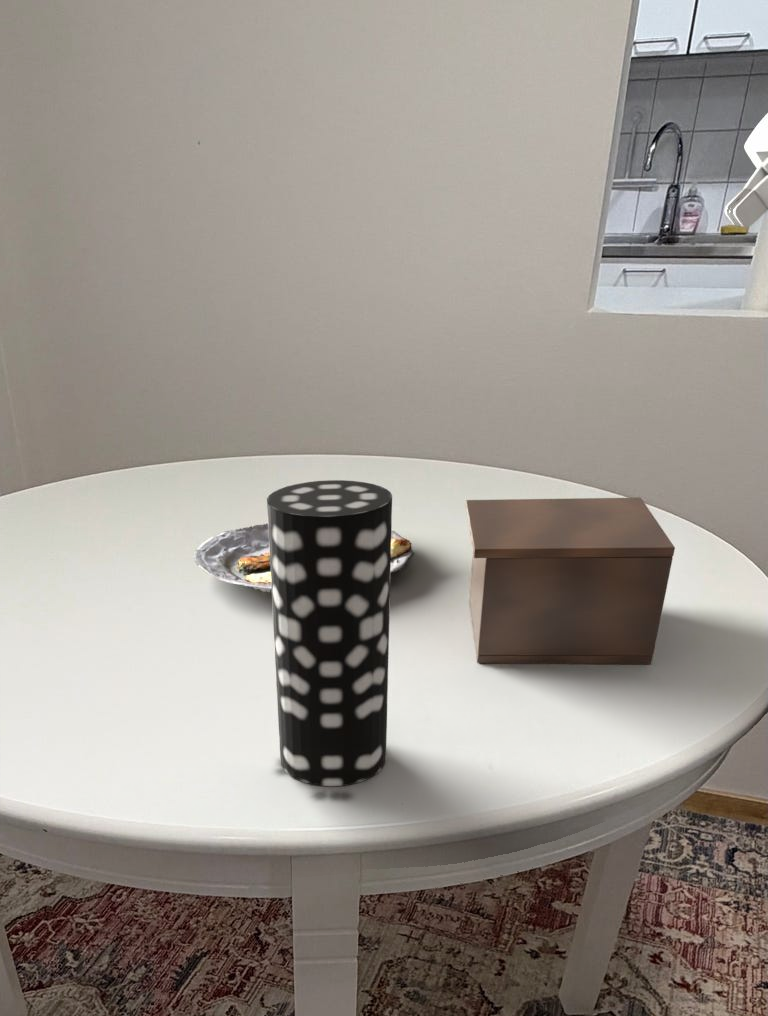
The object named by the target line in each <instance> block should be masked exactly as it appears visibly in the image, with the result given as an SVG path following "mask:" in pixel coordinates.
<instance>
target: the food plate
mask: <svg viewBox="0 0 768 1016" xmlns="http://www.w3.org/2000/svg"><path fill="white" fill-rule="evenodd" d="M412 548H413V547H412V541H411V540H409V539H407V538H404V537H402V536H401V535H400V534H399V533H397V532H396V531H395V530H392V529H391V570H390V574H392V573H396V572H400V571H401V570H403V569H404V568H405V567H407V566H408V564H409V562H410V561H411V559H412V558H413V557H414V556H415V552H414V550H413V549H412ZM193 560H194V562H195V563H196V565H197V566H198V567H199V568H200V569H201V570H202V571H203V572H204V571H205V573H206V574H208V575H210V576H212V577H214V578H215V579H217V580H218V581H220V582H223V583H227V584H232V585H233V584H234V585H241V586H244V587H251V588H253V589H254V590H255V591H256V590H260V591H261V592H263V593H267V592H268V593H272V588H271V569H270V550H269V531H268V523H263V524H255V525H250V526H246V527H241V528H237V529H236V528H235V529H231V530H226V531H225V530H224V532H222V533H218V534H216V535H213V536H211V537H210V538H208V539H207V540H204V541H203V543H201V545H199V546H198V547H197V548H196V549H195V551H194V552H193Z"/></svg>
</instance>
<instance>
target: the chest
mask: <svg viewBox="0 0 768 1016" xmlns="http://www.w3.org/2000/svg"><path fill="white" fill-rule="evenodd" d="M471 558H472V559H471V570H470V584H469V598H468V606H469V607H468V608H469V615H470V621H471V627H472V628H471V629H472V637H473V642H474V651H475V656H476V657H475V658H476V664H556V665H557V664H560V665H561V664H563V665H564V664H567V665H569V664H572V665H573V664H575V665H576V664H577V665H578V664H579V665H584V664H585V665H652V663H653V658H654V653H655V648H656V643H657V638H658V634H659V628H660V624H661V620H662V619H661V618H662V613H663V608H664V605H665V604H664V603H665V599H666V593H667V590H668V589H667V588H668V583H669V579H670V575H671V570H672V569H671V568H672V563H673V559H674V558H673V557H565V558H474V554H473V553H472V557H471Z"/></svg>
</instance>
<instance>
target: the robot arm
mask: <svg viewBox="0 0 768 1016" xmlns="http://www.w3.org/2000/svg"><path fill="white" fill-rule="evenodd" d="M743 148H744V150H745V153H746V154H747V156H748V158H749V159H750V160H751V163H752V164H753V165H754V167H755V168H756V169H755V171H754V172H753V174H752V175H751V176H750V178H749V179H748V180H747V182H746V183H745V185H744V186H743V187H742V189H741V190H740V191H739V192H738V193H737V194H736V195H735V196H734V197H733V198H732V199H731V200H730V201H729V202H728V203H727V204H726V205H725V208H724V214H725V215H726V217H727V218H728V220H729V221H730V222H731V224H732V225H734V226H738V227H742V228H750V227H751V226H753V225H754V224H755V223H756V222H757V221H758V220H759V219H760V218H761V217H762V216H763V215H764V214H765V213H767V211H768V112H767V113H766V114H765V115H764V116H763V117H762V119H761V120H759V122H758V123H757V125H756V126H755V127H754V128H753V130H752V131H751V133H750V134H749V136H748V137H747V139H746V141H745V143H744V146H743Z"/></svg>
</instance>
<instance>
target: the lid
mask: <svg viewBox="0 0 768 1016" xmlns="http://www.w3.org/2000/svg"><path fill="white" fill-rule="evenodd" d="M465 512H466V517H467V523H468V529H469V535H470V542H471V547H472V555H473V554H474V558H565V557H672V558H673V557H674V555H675V549H676V547H675V546H674V544H673V543H672V541H671V540H670V538H669V537H668V535H667V534H666V532H665V531H664V529H663V528H662V526H661V525H660V523H659V522H658V520H657V519H656V518H655V516H654V515H653V513H652V512H651V511H650V509H649V507H648V506H647V505H646V503H645V502H644V500H643V499H642V497H585V498H520V499H519V498H518V499H516V498H514V499H513V498H512V499H511V498H510V499H509V498H507V499H466V500H465Z"/></svg>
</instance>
